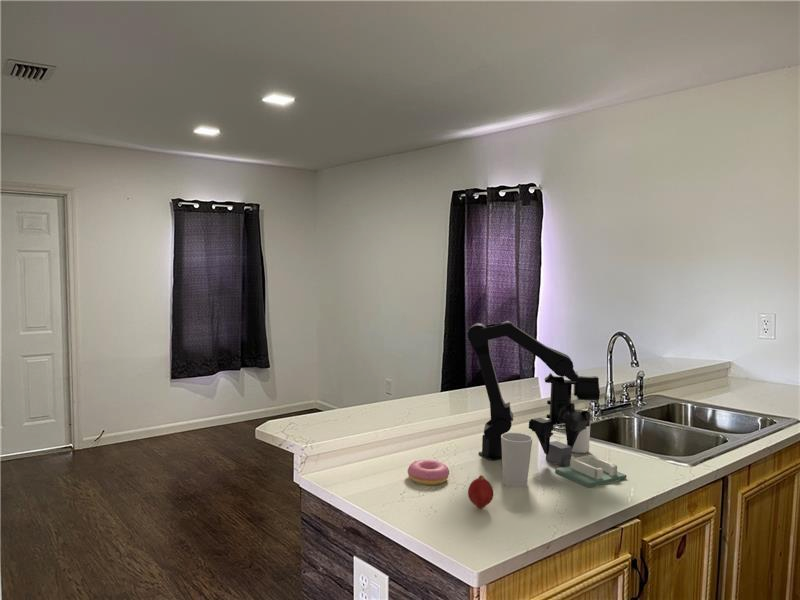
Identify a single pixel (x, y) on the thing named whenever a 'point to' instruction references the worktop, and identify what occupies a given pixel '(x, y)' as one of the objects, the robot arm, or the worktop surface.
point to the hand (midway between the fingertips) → (558, 451)
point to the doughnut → (428, 472)
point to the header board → (591, 471)
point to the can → (582, 440)
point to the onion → (480, 492)
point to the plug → (559, 453)
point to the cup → (515, 458)
